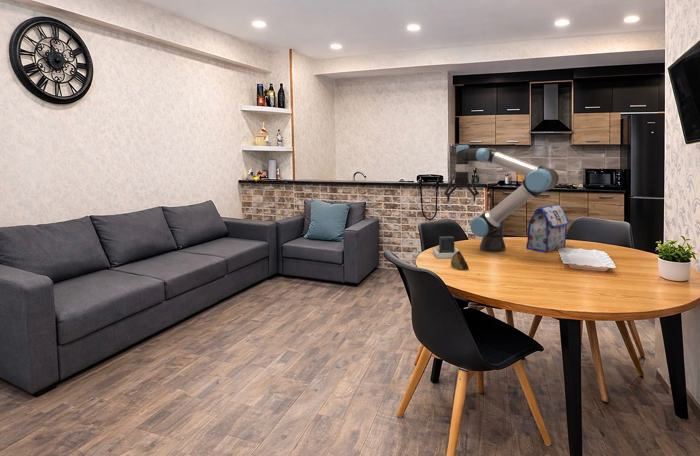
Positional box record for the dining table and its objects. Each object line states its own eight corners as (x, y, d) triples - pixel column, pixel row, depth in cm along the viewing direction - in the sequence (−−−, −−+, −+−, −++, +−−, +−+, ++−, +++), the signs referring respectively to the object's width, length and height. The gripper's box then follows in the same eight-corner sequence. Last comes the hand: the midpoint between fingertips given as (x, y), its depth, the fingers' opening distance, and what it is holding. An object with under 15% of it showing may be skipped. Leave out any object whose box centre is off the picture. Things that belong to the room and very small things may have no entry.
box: (452, 253, 267) (452, 235, 266) (454, 255, 262) (454, 237, 260) (438, 253, 267) (439, 236, 266) (440, 255, 262) (440, 237, 260)
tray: (456, 252, 272) (456, 248, 271) (461, 258, 258) (461, 253, 257) (432, 253, 272) (432, 248, 271) (436, 258, 258) (436, 253, 257)
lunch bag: (550, 254, 265) (553, 208, 261) (524, 249, 278) (526, 206, 273) (569, 248, 279) (572, 205, 274) (543, 244, 292) (546, 203, 287)
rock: (445, 261, 243) (447, 263, 233) (455, 248, 242) (458, 249, 232) (461, 273, 243) (465, 275, 233) (471, 260, 242) (475, 262, 232)
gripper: (481, 170, 275) (479, 205, 278) (439, 171, 275) (439, 206, 279) (484, 171, 267) (483, 207, 271) (442, 172, 268) (441, 207, 271)
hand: (460, 206), depth 275 cm, fingers open, 13 cm apart
